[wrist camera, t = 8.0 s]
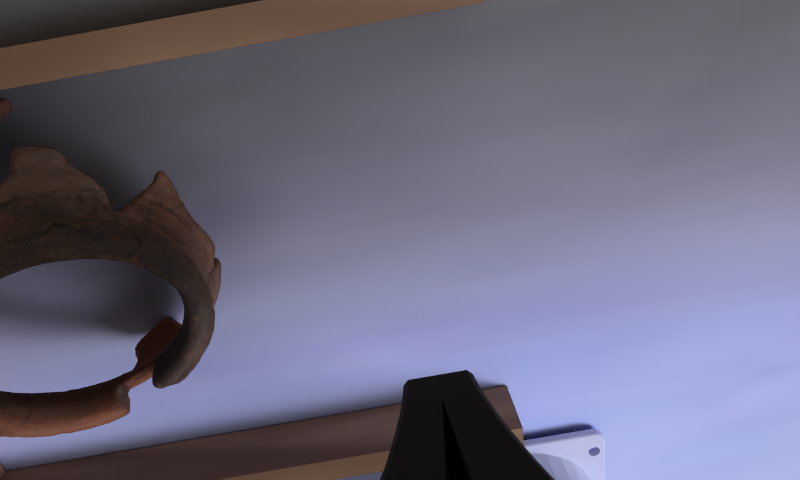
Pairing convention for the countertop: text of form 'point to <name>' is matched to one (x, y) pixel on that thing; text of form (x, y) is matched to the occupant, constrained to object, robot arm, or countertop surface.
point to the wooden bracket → (267, 446)
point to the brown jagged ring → (115, 240)
